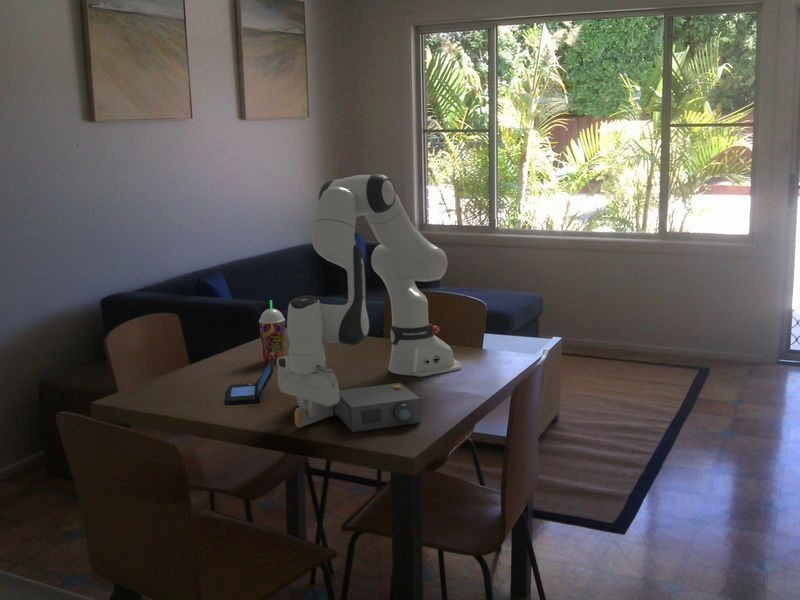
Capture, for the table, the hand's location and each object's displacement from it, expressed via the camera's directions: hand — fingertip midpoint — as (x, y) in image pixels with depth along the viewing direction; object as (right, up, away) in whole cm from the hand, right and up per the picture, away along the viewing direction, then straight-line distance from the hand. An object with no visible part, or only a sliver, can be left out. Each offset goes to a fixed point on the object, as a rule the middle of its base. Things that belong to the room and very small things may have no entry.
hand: (309, 415), depth 225 cm
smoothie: (-18, +9, +66) cm, 69 cm away
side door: (+1, -2, +5) cm, 5 cm away
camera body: (+17, -2, +5) cm, 18 cm away
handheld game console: (-20, +2, +30) cm, 35 cm away
